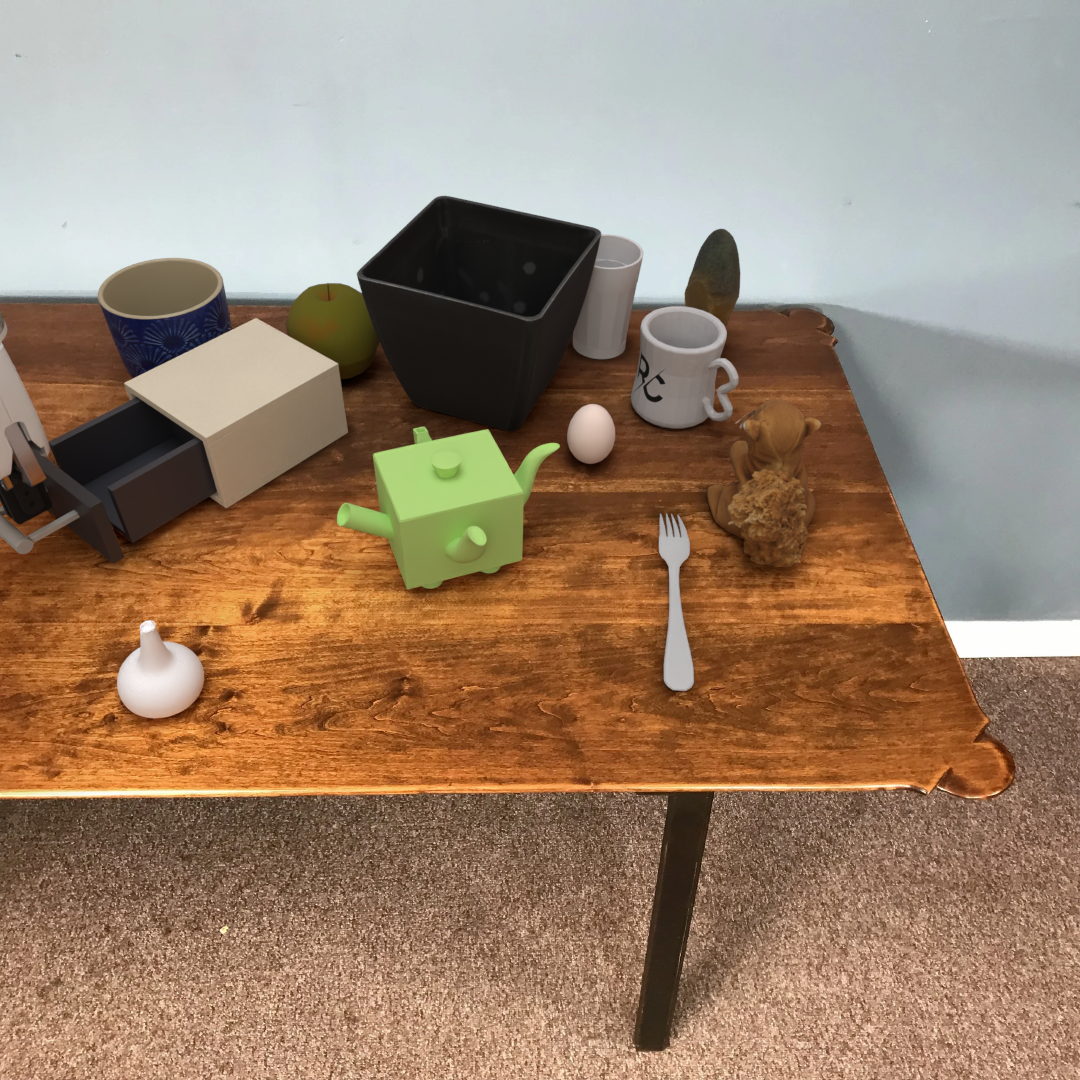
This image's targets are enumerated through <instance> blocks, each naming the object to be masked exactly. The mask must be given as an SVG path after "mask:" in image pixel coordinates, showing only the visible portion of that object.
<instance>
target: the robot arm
mask: <svg viewBox="0 0 1080 1080" xmlns="http://www.w3.org/2000/svg"><path fill="white" fill-rule="evenodd" d="M4 318H5V317H4V315H3V313H2V311H1V310H0V504H1V506H3V508H4V510H5V512H6V516H7V517H8V518H9V519H12V520H13V522H14V523H16V525H22V524H25V523H26V522H29V521H30V520H33V519H34V518H36V517H38V516H40V515H41V514H44V513H45V512H48V510H49V509H51V507H52V502H51V500H50V498H49V495H48V493H47V491H46V488H45V486H44V484H43V481H45V480H46V479H47V478H46V475H45V474H44V472H43V470H42V468H41V466H40V464H39V462H38V460H37V459H36V457H35V455H34V453H33V451H32V449H33V450H34V451H36V452H37V453H38V454H40V455H41V456H43V457H46V458H47V457H48V456H49V455H50V452H51V448H50V446H49V443H48V442H49V440H48V437H47V434H46V431H45V428H44V427H43V424H42V421H41V419H40V416H39V415H38V412H37V410H36V408H35V406H34V403H33V401H32V399H31V397H30V395H29V392H28V390H27V389H26V386H25V385H24V383H23V381H22V379H21V377H20V375H19V373H18V371H17V367H16V366H15V364H14V363H13V360H12V359H11V357H10V355H9V353H8V352H7V350H6V347H5V346H4V344H3V343H2V342H3V341H4V340H5V339H6V337H7V334H8V325H7V323H6V321H5V319H4ZM31 448H32V449H31Z"/></svg>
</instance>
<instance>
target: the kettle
mask: <svg viewBox="0 0 1080 1080" xmlns="http://www.w3.org/2000/svg"><path fill="white" fill-rule="evenodd" d="M412 433H413V441H414V444H410V445H405V446H400V447H396V448H392V449H387V450H382V451H377V452H374V453H373V454H372V460H373V468H374V475H375V483H376V484H375V485H376V492H377V500H378V507H379V511H378V510H374V509H371V508H368V507H363V506H360V505H357V504H353V503H350V502H344V503H343V504H342V505H340V507H339V509H338V510H337V515H336V523H337V526H339V527H342V528H346V529H350V530H353V531H358V532H361V533H365V534H369V535H373V536H377V537H380V538H384V539H387V540H388V543H389V546H390V549H391V552H392V554H393V556H394V559H395V561H396V564H397V567H398V570H399V572H400V575H401V578H402V580H403V584H404V585H405V588H406V590H407V591H408V590H411V589H415V588H419V587H422V588H425V589H436V588H438V587H440V586H441V585H442V584H443V582H444V581H447V580H450V579H454V578H458V577H462V576H466V575H471V574H474V573H475V574H476V573H478V572H481V573H483V574H494V573H496V572H498V571H499V570H500V569H501V567H502V566H505V565H510V564H513V563H517V562H520V561H523V544H524V542H523V541H524V509H525V508H524V506H525V504H526V503H527V502H528V500H529V499H530V496H531V493H532V491H533V487H534V483H535V479H536V476H537V473H538V471H539V468H540V466H541V465H542V463H543V462H544V461H545V460H546V459H547V458H548V457H550V455H552V454H553V453H555V452H556V451H558V450H559V449H560V447H561V446H560V444H559V443H557V442H549V443H543V444H540V445H538V446H536V447H534V448H532V450H531V451H530V452H529V453H528V454H526V455H525V458H524V459H523V461H522V462H521V464H520V465H519V467H518V468H517V470H516V471H515V472H514V473H513V471H512V470H511V468H510V466H509V463H508V462H507V460H506V458H505V456H504V455H503V453H502V451H501V449H500V447H499V446H498V444H497V442H496V441H495V439H494V436H493V435H492V433H491V431H490V430H489V429H488V428H487V429H482V430H481V429H480V430H477V431H473V432H467V433H461V434H457V435H453V436H448V437H443V438H439V439H438V438H437V439H432V437H431V436H430V433H429V430H428V429H427V428H426V426H419V427H415V428H412Z"/></svg>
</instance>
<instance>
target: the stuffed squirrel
mask: <svg viewBox="0 0 1080 1080" xmlns="http://www.w3.org/2000/svg"><path fill="white" fill-rule="evenodd" d="M752 416H753V417H752ZM751 417H752V419H750V418H751ZM739 423H740V425H739V427H738V428H739V429H742V428H743V430H744V431H745V432H746V433H747V441H746V440H737V441H735V442H734V443H733V444H732V445H731V448H730V450H729V460H730V463H731V466H732V467H733V471H734V474H735V475H734V476H735V477H736V478H737V481H734V482H730V483H728V484H725V485H722V484H714V485H710V486H709V487H708V488H707V491H706V492H707V493H706V494H707V495H706V496H707V502H708V505H709V508H710V512H711V515H712V517H713V520H714V521H715V523H716V524H717V525H718V526H719V527H720V528H722V529H724V530H725V531H726V532H728V533H730V534H731V535H733V536H735V537H737V538H740V539H742V540H743V541H742V543H743V553H744V554H746V555H749V560H750V561H752V562H753V563H756V564H757V565H760V566H763V565H764V566H765V565H767V566H769V567H774V568H780V567H781V568H790V567H794V565H795V564H801V559H802V554H803V553H804V552H805V549H806V548H807V540H808V538H809V536H808V534H809V531H808V526H809V525H810V523H811V522H812V519H813V517H814V514H815V511H816V505H817V504H816V500H815V497H814V495H813V493H812V491H811V490H810V488H809V477H808V472H807V470H806V467H805V463H804V460H803V458H802V453H803V451H804V448H805V439H806V438H808V437H809V436H812V435H813V434H814V433H816V432H817V431H818V430H819V429H820V428H821V426H822V423H821V421H820V420H819V419H817V418H815V417H805V415H804V413H803V412H802V411H801V410H800V409H799V408H798V407H796V406H794V405H792V404H791V403H788V402H786V401H784V400H781V399H768V400H766V401H764V402H763V403H760V405H759V406H758V407H757V408H755V409H753V410H751V411H749V412H748V413H746V414H744V415H742V417H740V418H739V419H738V420H737V421H735V422H734V425H737V424H739Z"/></svg>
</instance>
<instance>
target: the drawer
mask: <svg viewBox="0 0 1080 1080" xmlns="http://www.w3.org/2000/svg"><path fill="white" fill-rule="evenodd" d="M48 443H49V446H50V452H51V453H52V455H53V458H54V460H55V462H56V464H57V465H56V464H55V463H54V462H52V461H51V460H49V458H47V457H43V456H41V455H40V454H38V453H37V452H36V451H34V450H33V449H32V448H31V449H32V451H33V453H34V455H35V457H36V459H37V460H38V462H39V464H40V466H41V468H42V470H43V472H44V474H45V475H46V478H47V479H46V480H45V481H43V484H44V486H45V488H46V491H47V493H48V495H49V498H50V500H51V502H52V507H51V509H49V510H47V512H49V513H50V514H51V515H52V516H54V517H55V518H56V519H55V520H53V521H51V522H49V523H47V524H46V525H44V526H42V527H40V528H39V529H37V530H35V531H33V532H32V533H29V534H28V535H26V534H25V533H24V532H22V531H21V530H20V529H19V527H16V526H15V525H14V524H13V523H12V522H11V521H10V520H8V518H6V517H5V516H7V514H6V512H5V510H4V508H3V506H2V505H1V506H0V539H2V540H3V541H4V542H5V543H6V544H8V545H9V547H11V548H12V549H13V550H14V551H16V552H17V553H18V554H20V555H26V554H29V553H30V552H31V551H32V550H33V548H34V544H36V543H37V542H39V541H40V540H43V539H44V538H46V537H48V536H49V535H51V534H53V533H55V532H56V531H58V530H60V529H62V528H64V527H67V528H68V529H69V530H71V531H72V532H73V533H74V534H76V535H77V536H78V537H79V538H80V539H82V540H83V541H84V542H85V543H86V544H88V545H89V546H90V547H91V548H92V549H94V550H95V551H96V552H98V554H100V555H101V556H102V557H104V559H106V560H107V561H108V562H110V563H111V564H112V565H115V564H116V563H118V562H120V561H121V560H123V559H124V558H125V554H124V551H123V550H122V546H121V545H120V544H121V543H120V542H119V539H118V537H117V535H116V532H117V533H119V534H120V535H122V536H123V537H124V538H126V539H127V540H128V541H129V542H130V543H132V544H133V543H137V542H138V541H139V540H141V539H142V538H144V537H145V536H147V535H149V534H150V533H153V532H154V531H155V530H157V529H158V528H160V527H162V526H164V525H165V524H167V523H169V522H170V521H172V520H173V519H175V518H176V517H178V516H180V515H182V514H183V513H185V512H187V511H188V510H190V509H192V508H194V507H195V506H197V505H198V504H200V503H202V502H203V501H205V500H207V499H208V498H211V497H210V496H211V495H213V494H215V493H216V492H217V489H216V485H215V482H214V478H213V475H212V471H211V468H210V464H209V461H208V457H207V454H206V450H205V447H204V444H203V441H202V440H200V439H199V438H197V437H196V436H194V435H193V434H191V433H190V432H188V431H187V430H185V429H184V428H182V427H181V426H179V425H178V424H176V423H175V422H173V421H172V420H171V419H169V418H168V417H166V416H165V415H163V414H162V413H160V412H159V411H157V410H156V409H154V408H153V407H151V406H150V405H148V404H147V403H145V402H144V401H142V400H141V399H139V398H138V397H136V398H134V399H132V400H130V399H129V400H128V401H126V402H124V403H122V404H120V405H118V406H117V407H114V408H112V409H110V410H109V411H108V410H107V412H105V413H102V414H101V415H98V416H97V417H94V418H93V419H90V420H89V421H87V422H85V423H82V424H80V425H79V426H76V427H75V428H73V429H71V430H69V431H67V432H65V433H62V434H61V435H59V436H57V437H55V438H53V439H51V440H50V441H49V440H48ZM115 531H116V532H115Z"/></svg>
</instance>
